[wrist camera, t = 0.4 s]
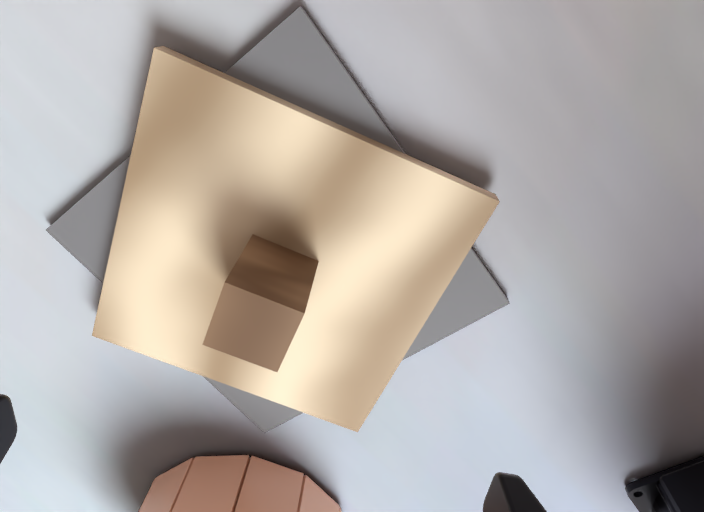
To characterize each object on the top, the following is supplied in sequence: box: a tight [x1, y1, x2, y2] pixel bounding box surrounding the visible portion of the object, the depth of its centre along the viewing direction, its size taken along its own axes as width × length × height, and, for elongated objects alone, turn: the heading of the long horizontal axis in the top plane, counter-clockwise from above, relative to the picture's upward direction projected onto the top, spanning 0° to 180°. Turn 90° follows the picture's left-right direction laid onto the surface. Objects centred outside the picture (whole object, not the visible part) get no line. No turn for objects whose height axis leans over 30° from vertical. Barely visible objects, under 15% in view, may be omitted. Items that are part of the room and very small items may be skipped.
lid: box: [92, 46, 500, 432], centre depth 20 cm, size 14×14×5 cm
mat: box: [46, 6, 509, 433], centre depth 22 cm, size 15×15×1 cm
